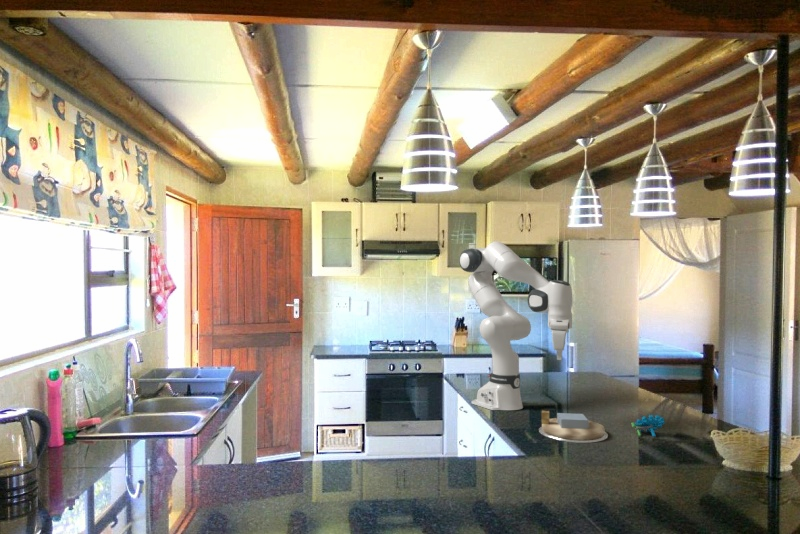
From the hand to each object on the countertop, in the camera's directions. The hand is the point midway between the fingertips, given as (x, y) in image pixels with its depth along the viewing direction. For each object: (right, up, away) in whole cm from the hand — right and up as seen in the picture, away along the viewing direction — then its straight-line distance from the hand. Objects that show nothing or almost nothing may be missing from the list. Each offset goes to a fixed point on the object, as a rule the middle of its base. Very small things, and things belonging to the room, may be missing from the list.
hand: (559, 359), depth 201 cm
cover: (0, -21, -14) cm, 25 cm away
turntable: (0, -23, -14) cm, 27 cm away
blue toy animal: (+26, -24, -16) cm, 39 cm away
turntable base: (0, -23, -14) cm, 27 cm away
